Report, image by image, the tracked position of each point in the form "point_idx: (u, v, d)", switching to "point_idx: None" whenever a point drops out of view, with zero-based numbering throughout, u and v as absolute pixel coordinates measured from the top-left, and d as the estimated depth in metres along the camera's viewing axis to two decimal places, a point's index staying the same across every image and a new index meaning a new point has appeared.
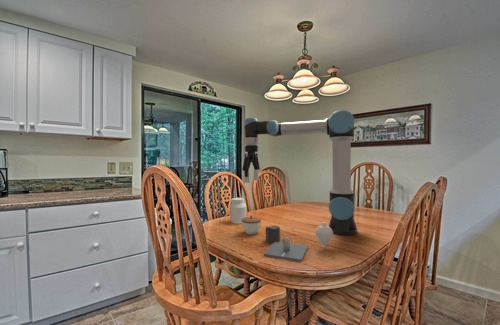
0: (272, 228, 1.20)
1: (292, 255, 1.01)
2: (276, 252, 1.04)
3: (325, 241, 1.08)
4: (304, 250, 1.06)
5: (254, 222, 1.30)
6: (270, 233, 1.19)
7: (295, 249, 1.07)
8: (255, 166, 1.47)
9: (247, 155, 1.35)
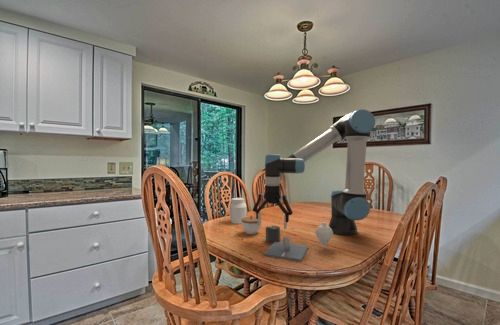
0: (272, 228, 1.20)
1: (292, 255, 1.01)
2: (276, 252, 1.04)
3: (325, 241, 1.08)
4: (304, 250, 1.06)
5: (254, 222, 1.30)
6: (270, 233, 1.19)
7: (295, 249, 1.07)
8: None
9: None
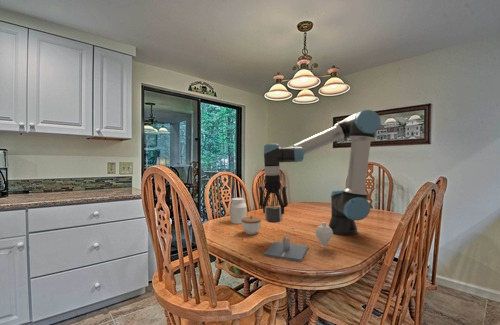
0: (273, 208, 1.20)
1: (292, 255, 1.01)
2: (276, 252, 1.04)
3: (325, 241, 1.08)
4: (304, 250, 1.06)
5: (254, 222, 1.30)
6: (270, 213, 1.19)
7: (295, 249, 1.07)
8: None
9: None
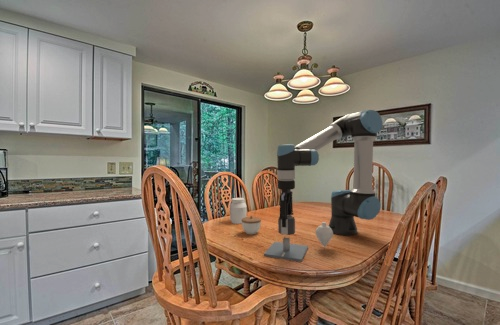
0: (290, 217, 1.07)
1: (292, 255, 1.01)
2: (276, 252, 1.04)
3: (325, 241, 1.08)
4: (304, 250, 1.06)
5: (254, 222, 1.30)
6: (294, 222, 1.05)
7: (295, 249, 1.07)
8: (288, 209, 1.10)
9: (283, 198, 1.01)
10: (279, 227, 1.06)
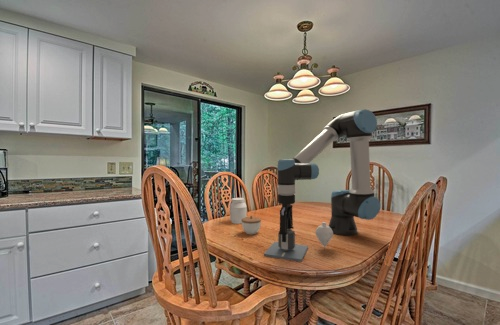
0: (290, 231, 1.07)
1: (292, 255, 1.01)
2: (276, 252, 1.04)
3: (325, 241, 1.08)
4: (304, 250, 1.06)
5: (254, 222, 1.30)
6: (294, 237, 1.05)
7: (295, 249, 1.07)
8: (288, 223, 1.10)
9: (283, 214, 1.01)
10: (279, 241, 1.06)
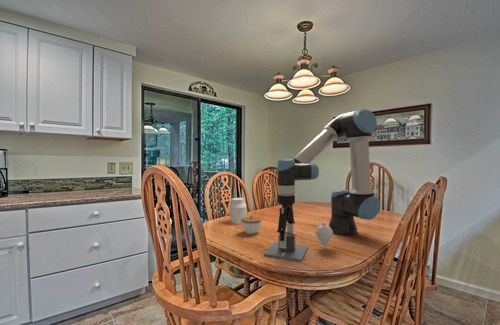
0: (290, 235, 1.07)
1: (292, 255, 1.01)
2: (276, 252, 1.04)
3: (325, 241, 1.08)
4: (304, 250, 1.06)
5: (254, 222, 1.30)
6: (294, 240, 1.05)
7: (295, 249, 1.07)
8: (289, 220, 1.12)
9: (283, 211, 1.00)
10: (279, 244, 1.06)
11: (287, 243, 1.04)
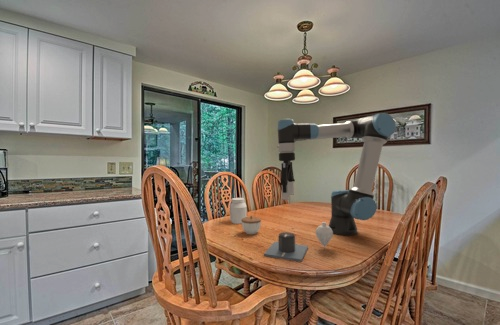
0: (290, 235, 1.07)
1: (292, 255, 1.01)
2: (276, 252, 1.04)
3: (325, 241, 1.08)
4: (304, 250, 1.06)
5: (254, 222, 1.30)
6: (294, 240, 1.05)
7: (295, 249, 1.07)
8: (290, 177, 1.20)
9: (285, 165, 1.08)
10: (279, 244, 1.06)
11: (287, 243, 1.04)
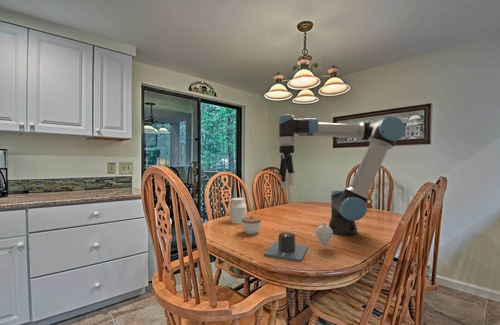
0: (290, 235, 1.07)
1: (292, 255, 1.01)
2: (276, 252, 1.04)
3: (325, 241, 1.08)
4: (304, 250, 1.06)
5: (254, 222, 1.30)
6: (294, 240, 1.05)
7: (295, 249, 1.07)
8: (289, 169, 1.30)
9: (284, 157, 1.18)
10: (279, 244, 1.06)
11: (287, 243, 1.04)
